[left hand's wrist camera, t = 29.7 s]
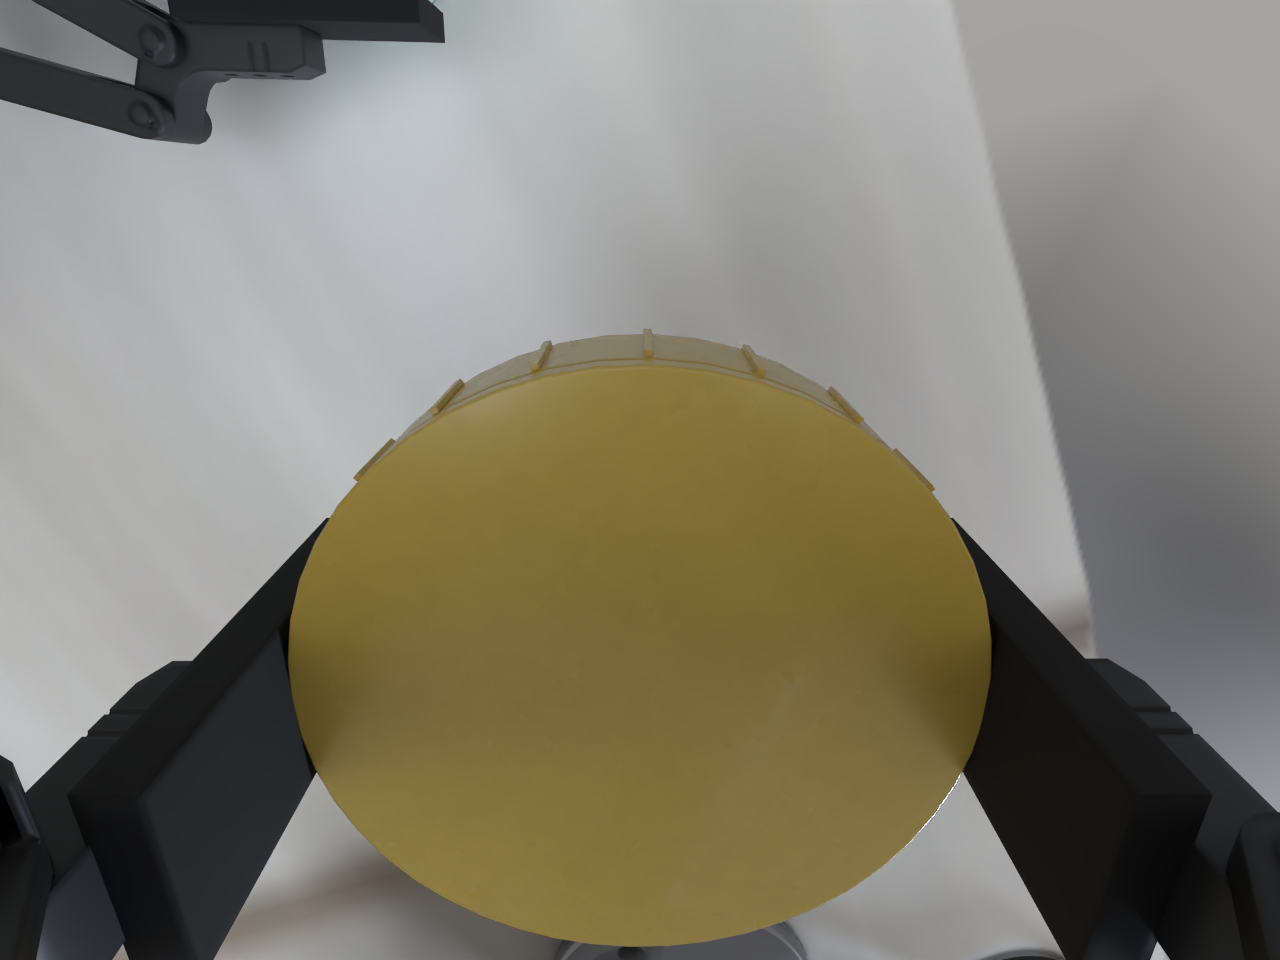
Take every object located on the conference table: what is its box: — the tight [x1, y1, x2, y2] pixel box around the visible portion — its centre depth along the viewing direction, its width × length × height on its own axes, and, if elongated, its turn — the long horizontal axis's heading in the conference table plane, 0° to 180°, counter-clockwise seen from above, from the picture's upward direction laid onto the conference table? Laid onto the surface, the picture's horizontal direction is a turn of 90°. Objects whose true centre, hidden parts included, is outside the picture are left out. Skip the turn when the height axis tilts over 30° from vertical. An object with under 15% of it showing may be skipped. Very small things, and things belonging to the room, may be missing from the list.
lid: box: [288, 329, 992, 947], centre depth 11 cm, size 10×10×2 cm
